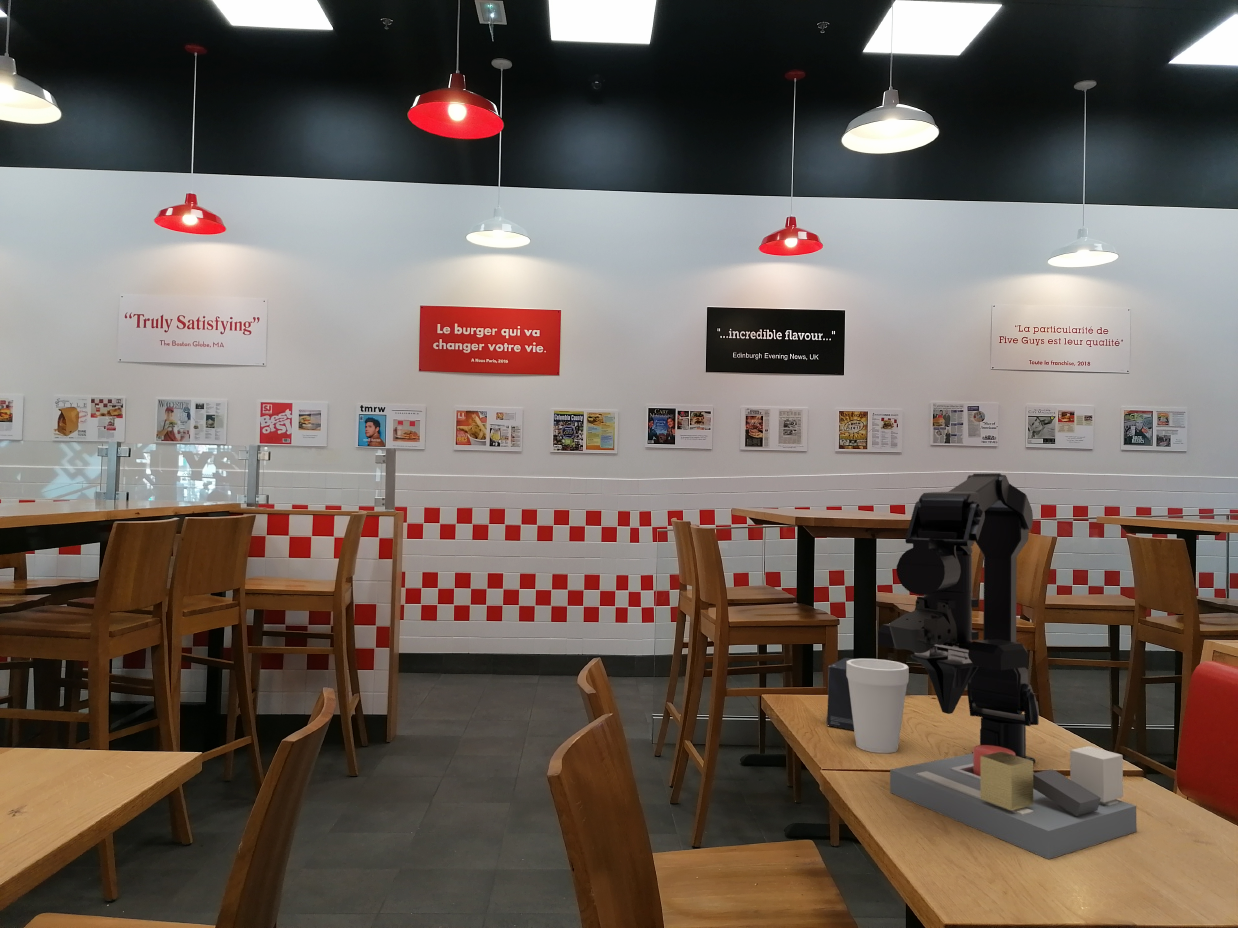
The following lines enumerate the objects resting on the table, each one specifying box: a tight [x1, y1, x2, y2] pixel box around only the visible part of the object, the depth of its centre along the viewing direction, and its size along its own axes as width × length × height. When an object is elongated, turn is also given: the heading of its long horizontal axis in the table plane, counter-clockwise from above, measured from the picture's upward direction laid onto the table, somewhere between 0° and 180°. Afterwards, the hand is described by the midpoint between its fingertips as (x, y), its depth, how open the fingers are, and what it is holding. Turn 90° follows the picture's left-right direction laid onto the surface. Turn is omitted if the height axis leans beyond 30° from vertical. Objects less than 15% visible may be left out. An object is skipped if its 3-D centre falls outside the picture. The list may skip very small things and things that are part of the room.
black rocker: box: [1033, 768, 1101, 816], centre depth 92 cm, size 4×6×2 cm, turn 29°
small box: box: [826, 657, 854, 731], centre depth 139 cm, size 11×6×10 cm, turn 148°
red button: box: [972, 744, 1015, 777], centre depth 103 cm, size 5×5×6 cm
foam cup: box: [846, 658, 910, 754], centre depth 125 cm, size 10×9×13 cm
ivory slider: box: [1069, 745, 1124, 802], centre depth 96 cm, size 4×4×5 cm
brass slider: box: [981, 752, 1034, 810], centre depth 92 cm, size 4×4×5 cm
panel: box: [889, 753, 1138, 860], centre depth 99 cm, size 17×22×3 cm
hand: (947, 712), depth 100 cm, fingers closed
